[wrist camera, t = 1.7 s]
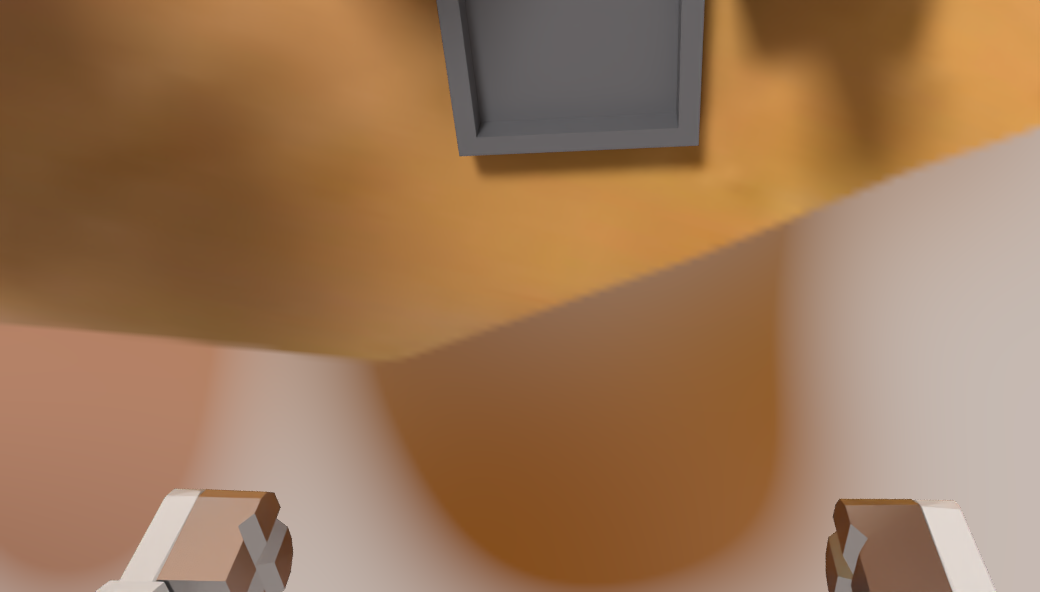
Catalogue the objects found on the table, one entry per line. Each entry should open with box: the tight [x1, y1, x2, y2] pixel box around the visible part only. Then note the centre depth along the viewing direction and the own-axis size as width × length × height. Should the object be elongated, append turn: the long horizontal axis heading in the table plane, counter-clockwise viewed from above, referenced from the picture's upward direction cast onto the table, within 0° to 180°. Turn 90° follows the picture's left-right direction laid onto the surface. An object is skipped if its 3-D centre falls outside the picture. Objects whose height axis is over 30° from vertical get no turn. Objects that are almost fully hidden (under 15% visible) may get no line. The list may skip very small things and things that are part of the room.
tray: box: [436, 0, 705, 156], centre depth 40 cm, size 12×12×2 cm
